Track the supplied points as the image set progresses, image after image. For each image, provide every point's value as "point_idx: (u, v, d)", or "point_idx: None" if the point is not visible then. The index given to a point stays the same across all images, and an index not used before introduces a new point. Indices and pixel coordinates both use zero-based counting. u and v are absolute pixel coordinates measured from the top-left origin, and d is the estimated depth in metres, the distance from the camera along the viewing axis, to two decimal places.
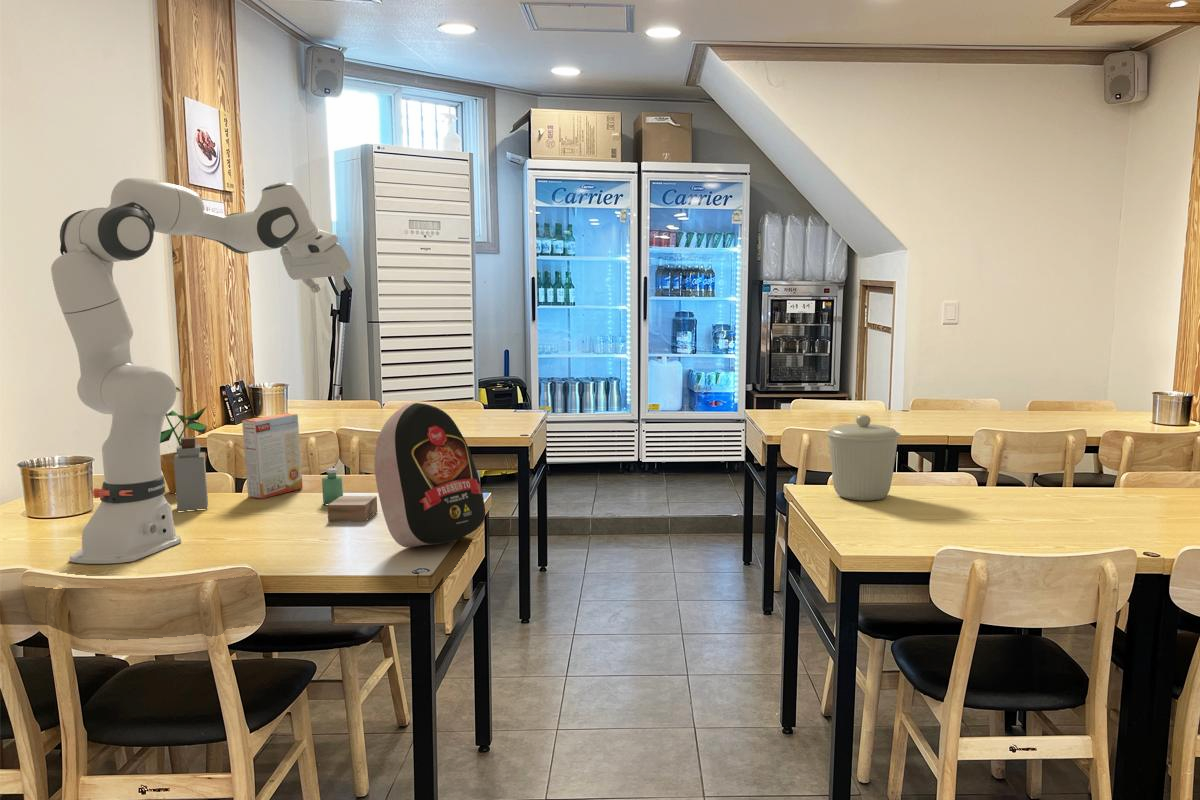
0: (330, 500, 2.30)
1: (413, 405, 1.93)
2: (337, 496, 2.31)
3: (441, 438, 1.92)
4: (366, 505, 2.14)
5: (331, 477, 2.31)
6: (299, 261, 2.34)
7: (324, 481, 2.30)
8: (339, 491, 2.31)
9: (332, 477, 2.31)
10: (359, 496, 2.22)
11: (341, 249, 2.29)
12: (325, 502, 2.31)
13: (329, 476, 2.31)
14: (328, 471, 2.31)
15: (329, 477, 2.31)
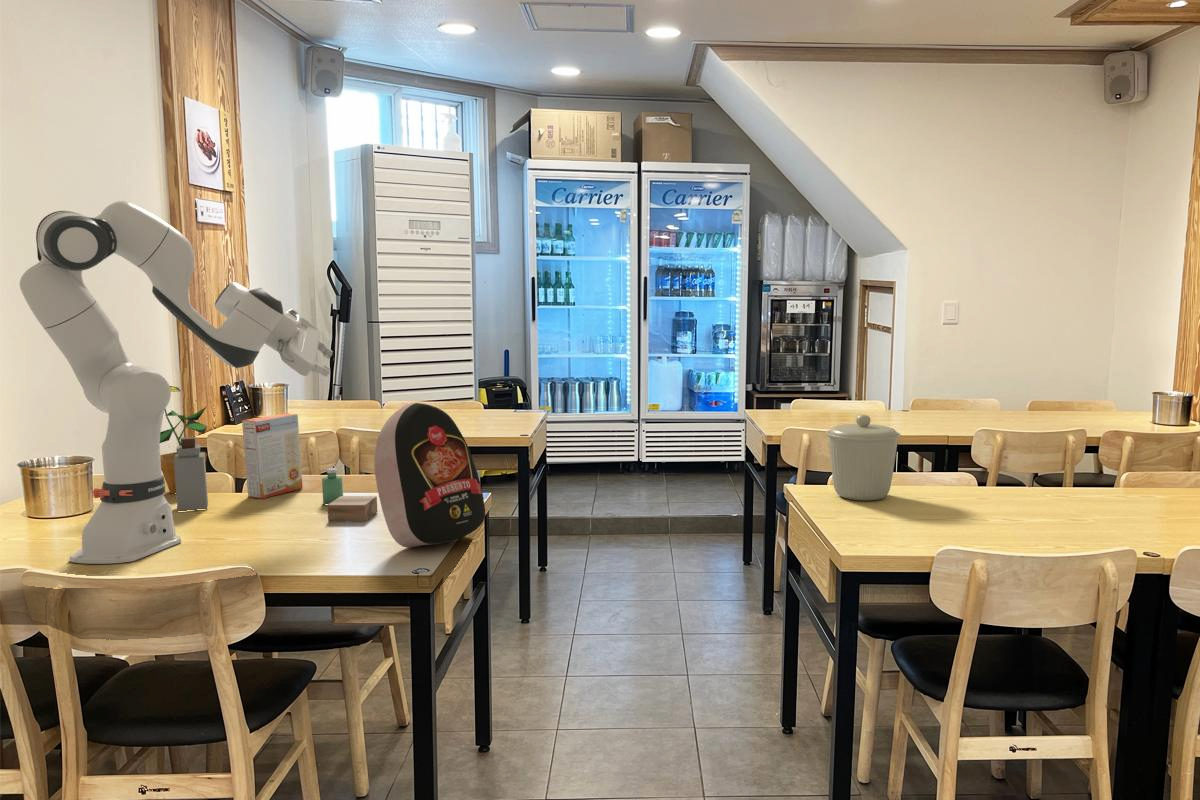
0: (330, 500, 2.30)
1: (413, 405, 1.93)
2: (337, 496, 2.31)
3: (441, 437, 1.92)
4: (366, 505, 2.14)
5: (331, 477, 2.31)
6: (298, 344, 2.17)
7: (324, 481, 2.30)
8: (339, 491, 2.31)
9: (332, 477, 2.31)
10: (359, 496, 2.22)
11: None
12: (325, 502, 2.31)
13: (329, 476, 2.31)
14: (328, 471, 2.31)
15: (329, 477, 2.31)
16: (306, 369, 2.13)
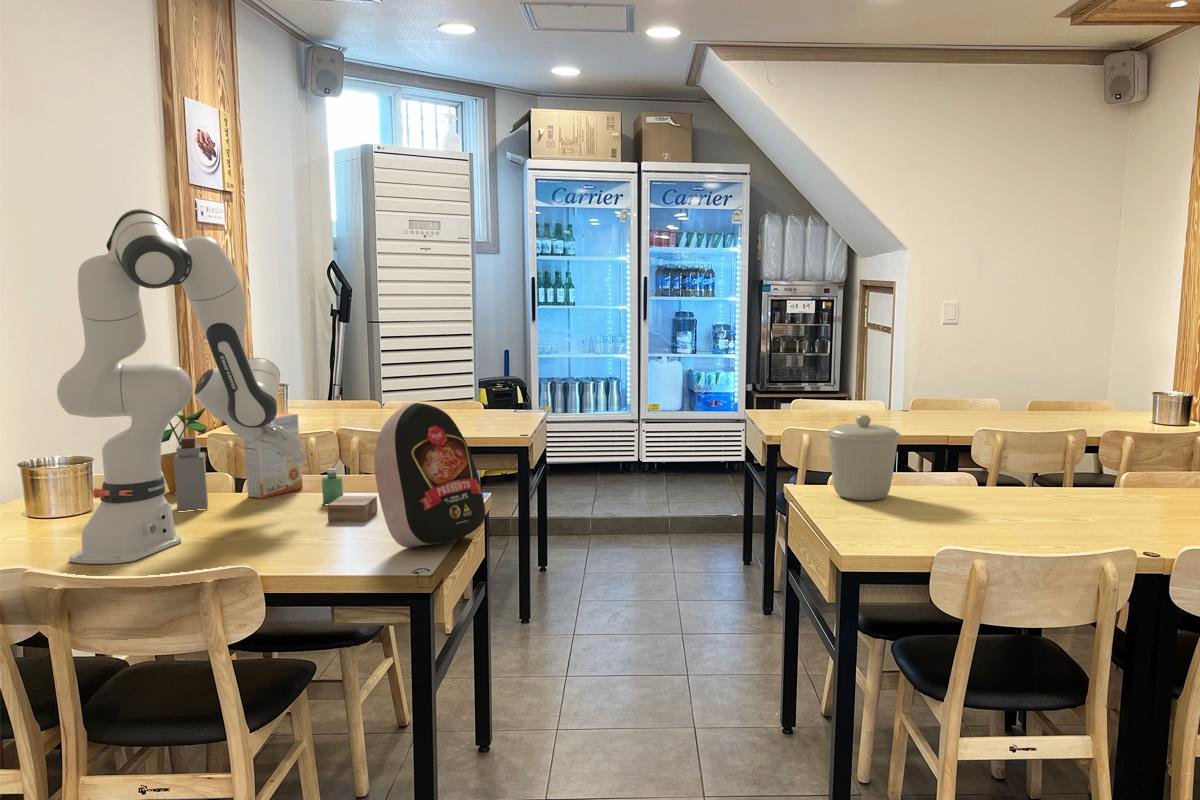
0: (330, 500, 2.30)
1: (413, 405, 1.93)
2: (337, 496, 2.31)
3: (441, 437, 1.92)
4: (366, 505, 2.14)
5: (331, 477, 2.31)
6: None
7: (324, 481, 2.30)
8: (339, 491, 2.31)
9: (332, 477, 2.31)
10: (359, 496, 2.22)
11: None
12: (325, 502, 2.31)
13: (329, 476, 2.31)
14: (328, 471, 2.31)
15: (329, 477, 2.31)
16: (298, 447, 2.13)
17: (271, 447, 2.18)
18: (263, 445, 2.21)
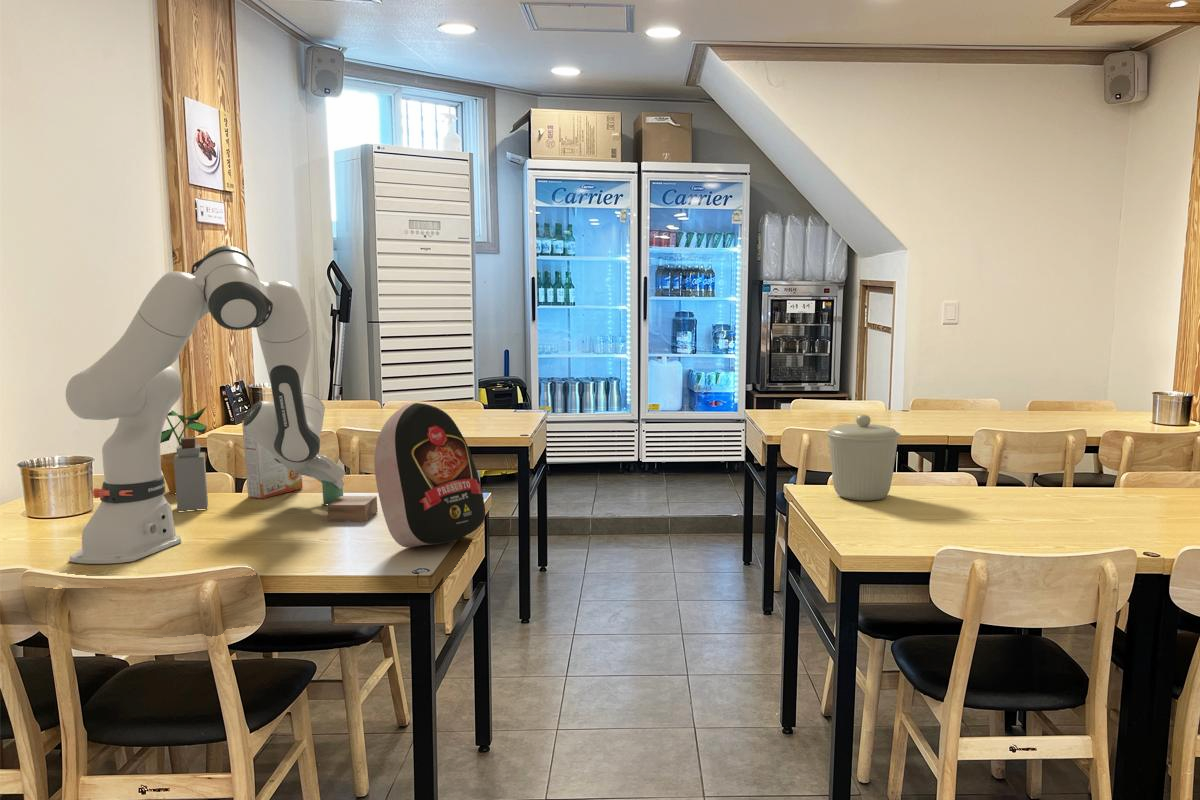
0: (330, 500, 2.30)
1: (413, 405, 1.93)
2: (337, 496, 2.31)
3: (441, 438, 1.92)
4: (366, 505, 2.14)
5: None
6: None
7: (324, 481, 2.30)
8: (339, 491, 2.31)
9: None
10: (359, 496, 2.22)
11: None
12: (325, 502, 2.31)
13: None
14: None
15: None
16: (341, 475, 2.23)
17: (314, 475, 2.28)
18: (305, 473, 2.31)
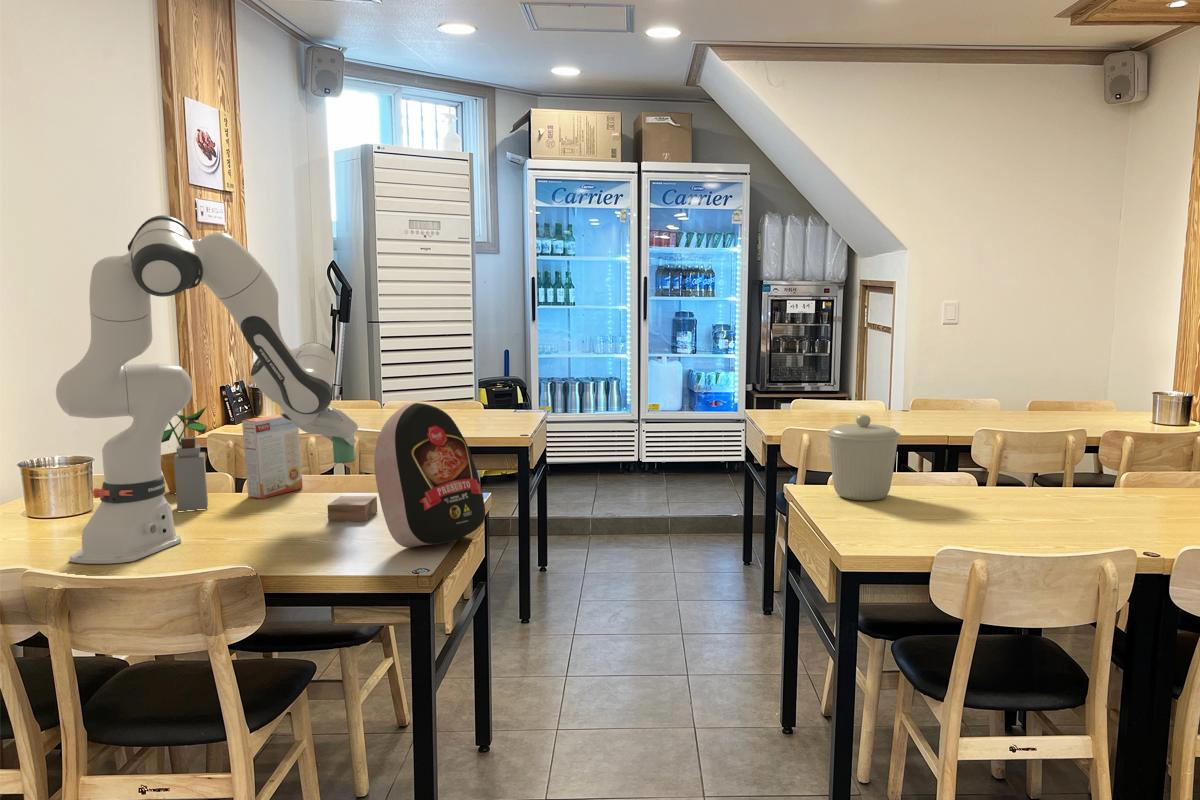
0: (341, 458, 2.19)
1: (413, 405, 1.93)
2: (349, 453, 2.20)
3: (441, 437, 1.92)
4: (366, 505, 2.14)
5: None
6: None
7: (335, 438, 2.19)
8: (350, 448, 2.20)
9: None
10: (359, 496, 2.22)
11: None
12: (336, 460, 2.19)
13: None
14: None
15: None
16: (354, 428, 2.12)
17: (324, 431, 2.16)
18: (314, 430, 2.19)
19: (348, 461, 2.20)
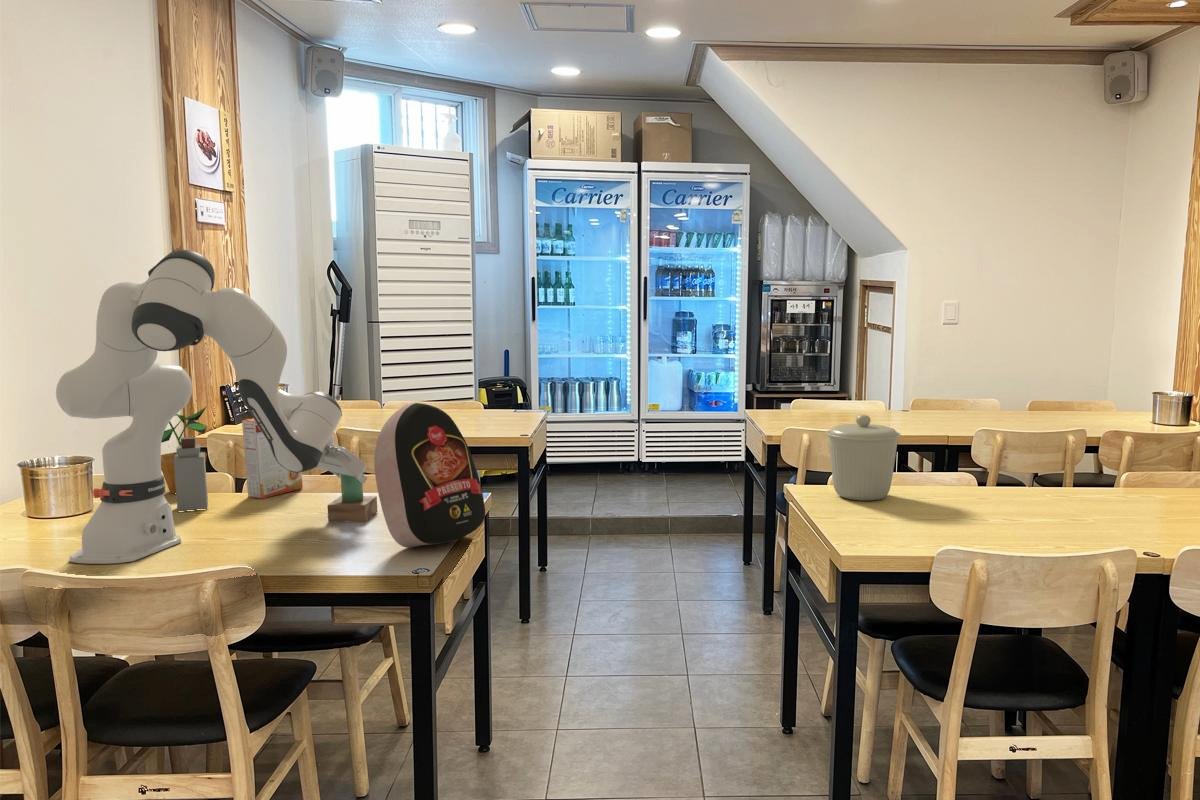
0: (349, 498, 2.16)
1: (413, 405, 1.93)
2: (357, 493, 2.16)
3: (441, 437, 1.92)
4: (366, 505, 2.14)
5: None
6: None
7: (343, 477, 2.15)
8: (359, 488, 2.16)
9: None
10: None
11: None
12: (344, 499, 2.16)
13: None
14: None
15: None
16: (361, 468, 2.08)
17: (332, 468, 2.13)
18: (322, 466, 2.16)
19: (356, 500, 2.16)
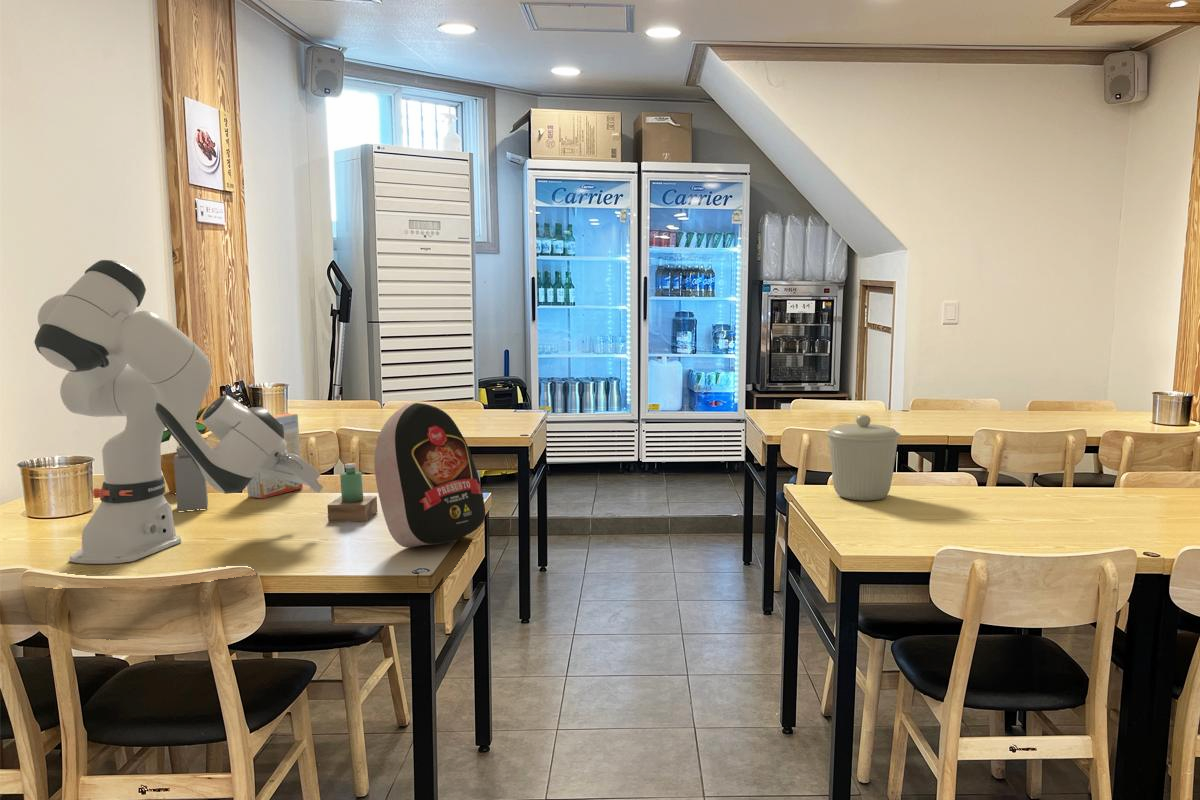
0: (350, 497, 2.16)
1: (413, 405, 1.93)
2: (357, 492, 2.16)
3: (441, 438, 1.92)
4: (366, 505, 2.14)
5: (350, 472, 2.16)
6: None
7: (343, 477, 2.15)
8: (359, 487, 2.16)
9: (351, 472, 2.16)
10: None
11: None
12: (344, 499, 2.16)
13: (348, 471, 2.16)
14: (347, 466, 2.16)
15: (348, 472, 2.16)
16: (315, 476, 1.99)
17: (284, 476, 2.04)
18: (275, 474, 2.07)
19: (356, 500, 2.16)
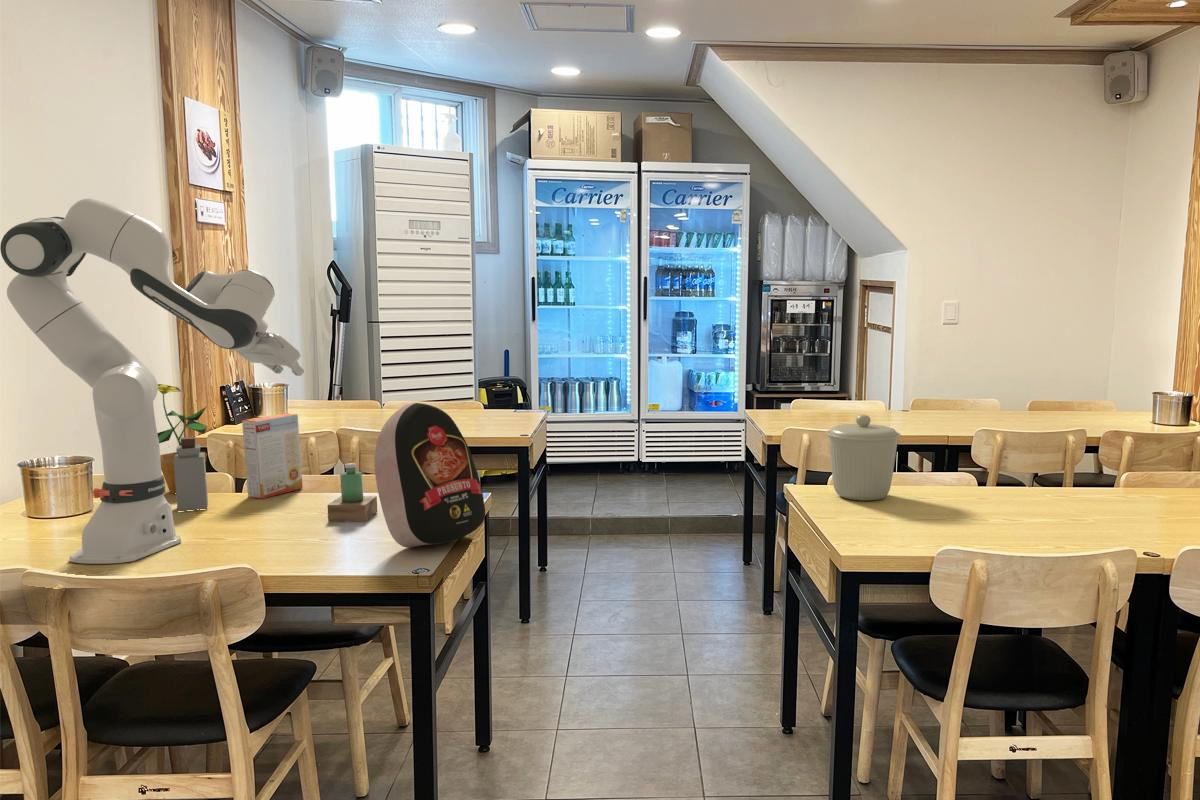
0: (350, 497, 2.16)
1: (413, 405, 1.93)
2: (358, 492, 2.16)
3: (441, 437, 1.92)
4: (366, 505, 2.14)
5: (350, 472, 2.16)
6: None
7: (343, 477, 2.15)
8: (359, 487, 2.17)
9: (352, 472, 2.16)
10: None
11: None
12: (345, 499, 2.16)
13: (348, 471, 2.16)
14: (347, 466, 2.16)
15: (348, 472, 2.16)
16: (295, 356, 2.00)
17: (266, 359, 2.05)
18: (257, 359, 2.08)
19: (357, 500, 2.16)
